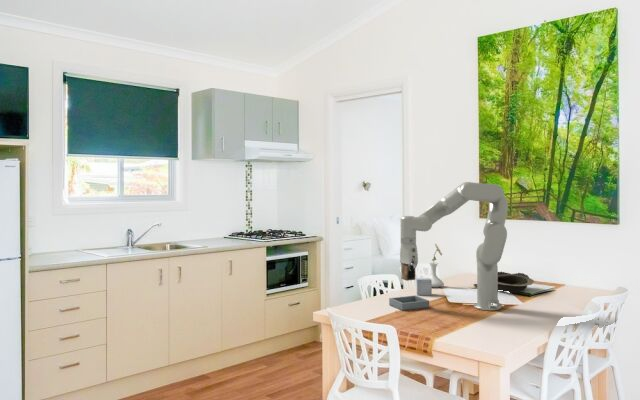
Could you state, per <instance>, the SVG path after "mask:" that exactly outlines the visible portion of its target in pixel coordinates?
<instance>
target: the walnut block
mask: <svg viewBox="0 0 640 400" xmlns="http://www.w3.org/2000/svg"><path fill="white" fill-rule="evenodd" d="M400 265H401V264H400ZM400 267H401V273H400V274H401V279H402V280H404V281H416V277H415V278H414V279H408V271H409V266H408V264H406V265H401V266H400ZM411 267H412V266H411Z"/></svg>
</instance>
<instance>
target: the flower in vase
mask: <svg viewBox="0 0 640 400" xmlns="http://www.w3.org/2000/svg"><path fill="white" fill-rule="evenodd" d="M434 245H435V248H436V249H435V253H434V254H433V258H432V259H431V261H432V262H429V265H430V267H431V268H430V269H431V275H430V276H429V278H431V280H432V288H441V287H443V286H444V285H445V283H444V282H443V281H442V279H440V278H439V277H438V276H437V266H438V264H439V263H438V262H435V261H437V258H436V256H435V255H436V253H437V252H438V254H439V255H440V256H443V253H442V252H441V249H440V248H439V246H438V244H437V243H434Z"/></svg>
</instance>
